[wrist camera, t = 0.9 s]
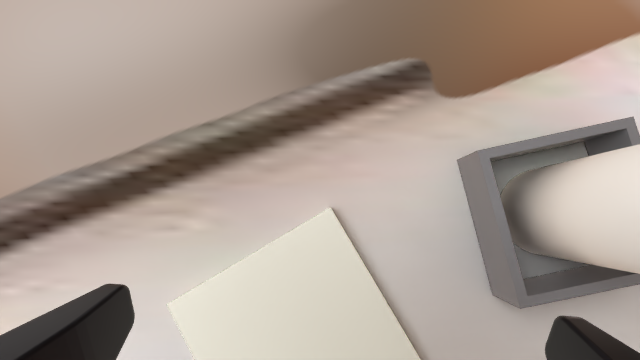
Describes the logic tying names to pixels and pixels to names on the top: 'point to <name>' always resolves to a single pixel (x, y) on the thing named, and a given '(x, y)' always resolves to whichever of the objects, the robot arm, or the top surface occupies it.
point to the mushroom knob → (580, 210)
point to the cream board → (293, 304)
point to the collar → (497, 233)
